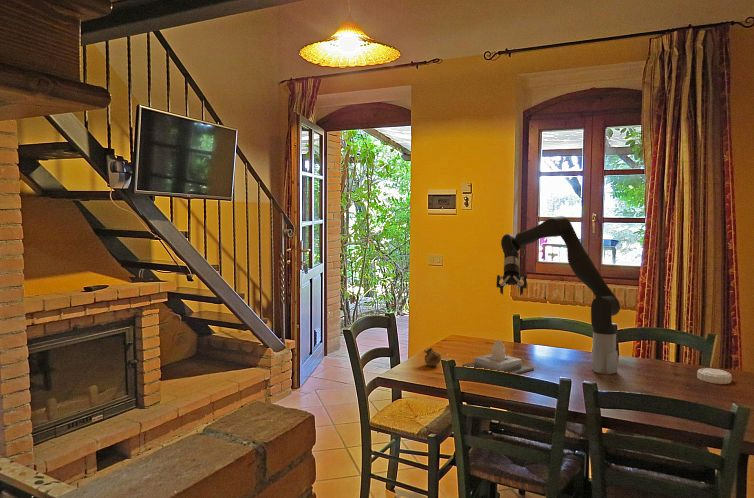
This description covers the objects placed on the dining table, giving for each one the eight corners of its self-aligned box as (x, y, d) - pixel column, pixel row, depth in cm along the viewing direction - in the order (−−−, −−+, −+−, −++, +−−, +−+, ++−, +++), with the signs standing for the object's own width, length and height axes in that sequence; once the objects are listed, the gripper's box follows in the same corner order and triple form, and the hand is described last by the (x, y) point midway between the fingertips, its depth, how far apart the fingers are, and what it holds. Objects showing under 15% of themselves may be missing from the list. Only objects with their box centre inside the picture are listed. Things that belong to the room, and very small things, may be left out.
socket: (533, 370, 237) (533, 360, 237) (499, 379, 225) (499, 368, 224) (496, 359, 255) (496, 349, 255) (462, 366, 243) (462, 357, 242)
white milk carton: (502, 337, 243) (507, 340, 237) (501, 363, 243) (507, 367, 238) (489, 338, 241) (494, 341, 236) (489, 364, 242) (494, 368, 237)
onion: (424, 368, 240) (424, 350, 240) (423, 363, 248) (423, 346, 248) (441, 368, 240) (441, 350, 240) (440, 363, 248) (440, 346, 248)
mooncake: (736, 385, 216) (737, 376, 216) (704, 383, 218) (704, 375, 218) (723, 376, 228) (723, 367, 228) (692, 374, 230) (692, 366, 230)
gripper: (496, 262, 265) (496, 288, 255) (526, 263, 262) (527, 289, 252) (496, 272, 271) (496, 298, 260) (526, 272, 268) (526, 299, 257)
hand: (511, 293), depth 256 cm, fingers open, 8 cm apart
